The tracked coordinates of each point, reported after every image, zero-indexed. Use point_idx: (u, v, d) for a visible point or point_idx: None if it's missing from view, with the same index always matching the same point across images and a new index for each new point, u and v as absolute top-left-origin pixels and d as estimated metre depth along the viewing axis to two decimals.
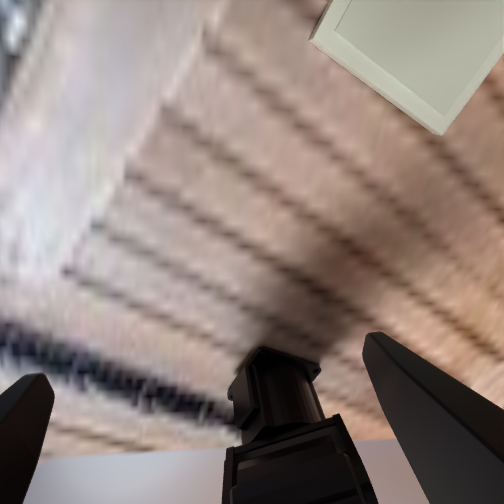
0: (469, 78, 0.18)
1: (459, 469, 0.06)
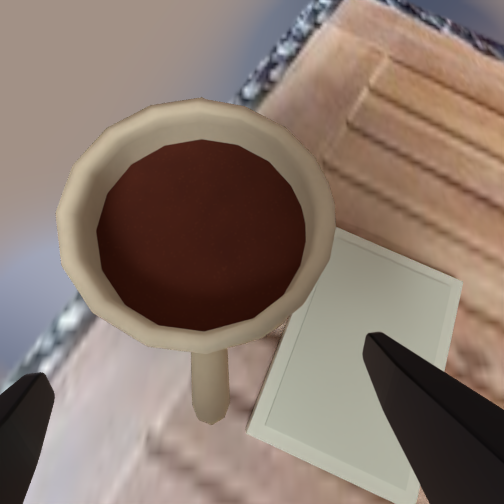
0: None
1: (459, 469, 0.06)
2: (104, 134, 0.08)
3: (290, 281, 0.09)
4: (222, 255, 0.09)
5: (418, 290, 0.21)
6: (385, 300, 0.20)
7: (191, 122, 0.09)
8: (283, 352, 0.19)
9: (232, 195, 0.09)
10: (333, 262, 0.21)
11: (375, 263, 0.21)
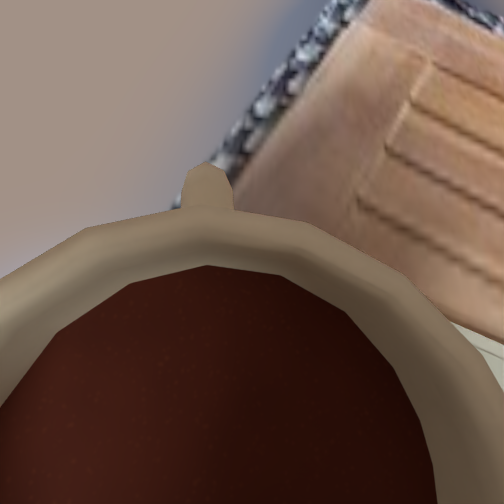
0: None
1: None
2: None
3: None
4: None
5: None
6: None
7: (185, 253, 0.04)
8: None
9: (274, 401, 0.04)
10: None
11: None
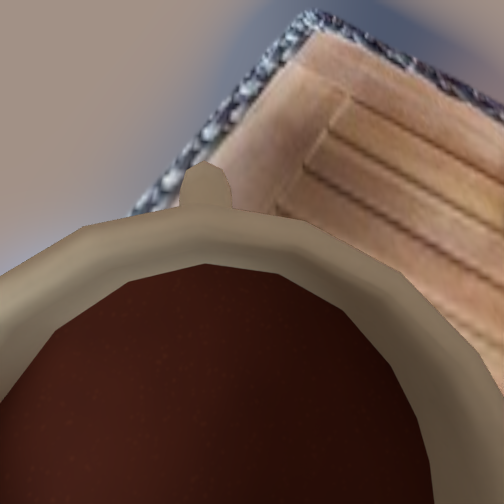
0: None
1: None
2: None
3: None
4: None
5: None
6: None
7: (182, 251, 0.04)
8: None
9: (272, 399, 0.04)
10: None
11: None
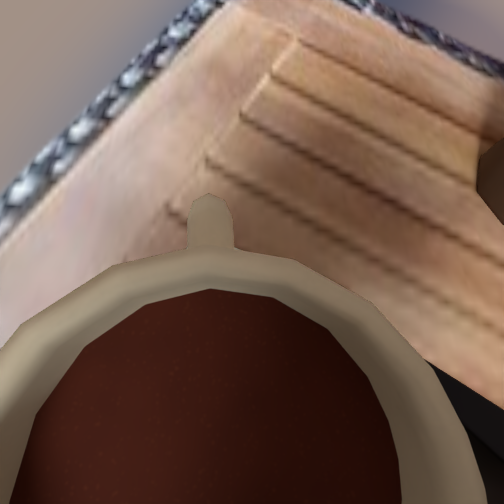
0: None
1: None
2: (13, 341, 0.04)
3: None
4: None
5: None
6: None
7: (192, 283, 0.05)
8: None
9: (266, 405, 0.05)
10: None
11: None
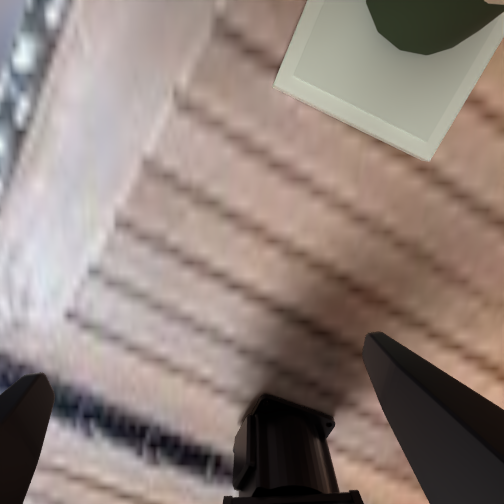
0: (449, 101, 0.17)
1: (459, 469, 0.06)
2: None
3: None
4: None
5: None
6: None
7: None
8: None
9: None
10: None
11: None
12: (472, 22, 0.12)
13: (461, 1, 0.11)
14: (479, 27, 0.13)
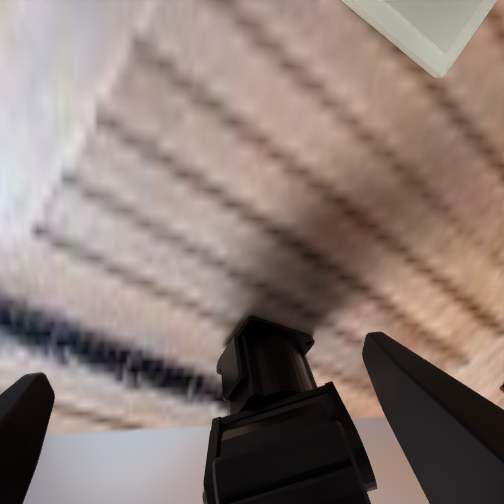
0: (474, 9, 0.16)
1: (459, 469, 0.06)
2: None
3: None
4: None
5: None
6: None
7: None
8: None
9: None
10: None
11: None
12: None
13: None
14: None
